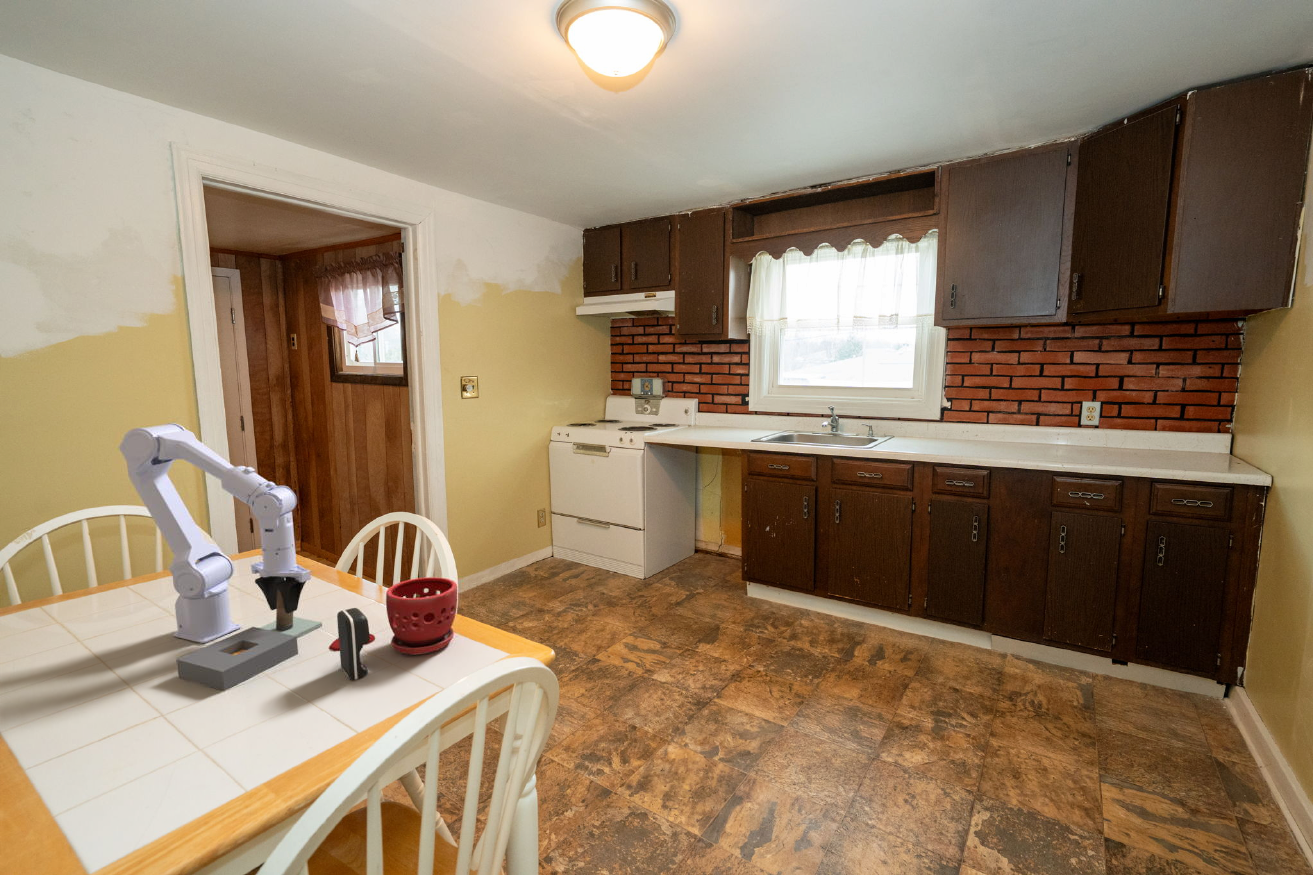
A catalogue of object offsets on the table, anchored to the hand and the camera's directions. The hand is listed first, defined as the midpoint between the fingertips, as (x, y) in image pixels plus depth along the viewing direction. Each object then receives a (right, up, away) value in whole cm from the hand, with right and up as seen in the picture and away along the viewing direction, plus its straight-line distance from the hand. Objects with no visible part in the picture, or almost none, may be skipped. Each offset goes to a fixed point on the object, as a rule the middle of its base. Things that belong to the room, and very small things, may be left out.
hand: (283, 609), depth 125 cm
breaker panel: (0, -7, -13) cm, 15 cm away
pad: (0, -5, +1) cm, 5 cm away
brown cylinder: (0, -4, 0) cm, 4 cm away
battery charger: (+23, -7, -15) cm, 28 cm away
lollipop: (+14, -5, 0) cm, 15 cm away
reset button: (0, -6, -13) cm, 15 cm away
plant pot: (+31, -6, -5) cm, 32 cm away
